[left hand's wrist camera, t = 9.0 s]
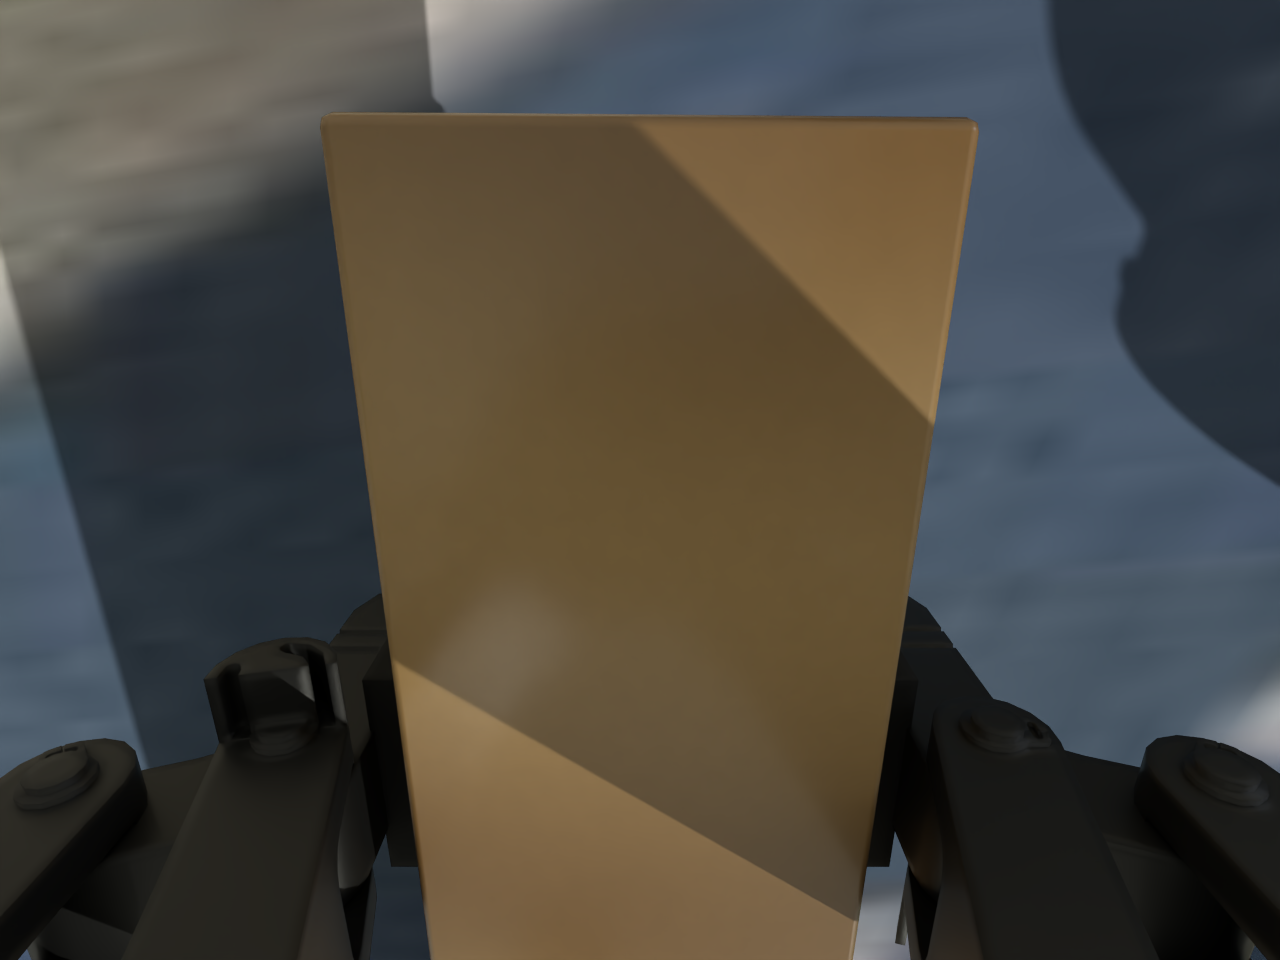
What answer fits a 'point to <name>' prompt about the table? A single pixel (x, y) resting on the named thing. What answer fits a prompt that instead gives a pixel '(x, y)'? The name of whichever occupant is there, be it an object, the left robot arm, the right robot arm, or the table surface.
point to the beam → (645, 506)
